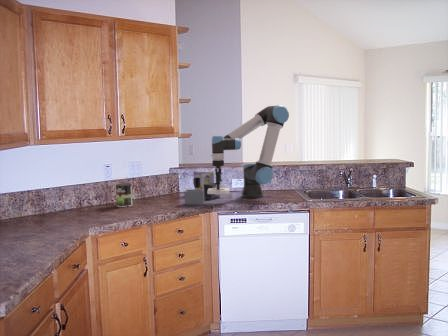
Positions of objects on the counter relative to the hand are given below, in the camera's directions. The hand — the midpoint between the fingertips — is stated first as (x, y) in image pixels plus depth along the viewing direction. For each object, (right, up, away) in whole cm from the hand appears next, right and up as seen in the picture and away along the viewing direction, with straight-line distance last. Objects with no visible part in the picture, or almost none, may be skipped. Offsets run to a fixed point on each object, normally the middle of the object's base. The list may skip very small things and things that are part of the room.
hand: (218, 193), depth 313 cm
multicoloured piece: (-62, -9, +3) cm, 62 cm away
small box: (-5, -5, +21) cm, 22 cm away
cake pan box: (-11, -3, +39) cm, 41 cm away
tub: (-16, -7, +1) cm, 17 cm away
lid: (0, 0, 0) cm, 0 cm away
